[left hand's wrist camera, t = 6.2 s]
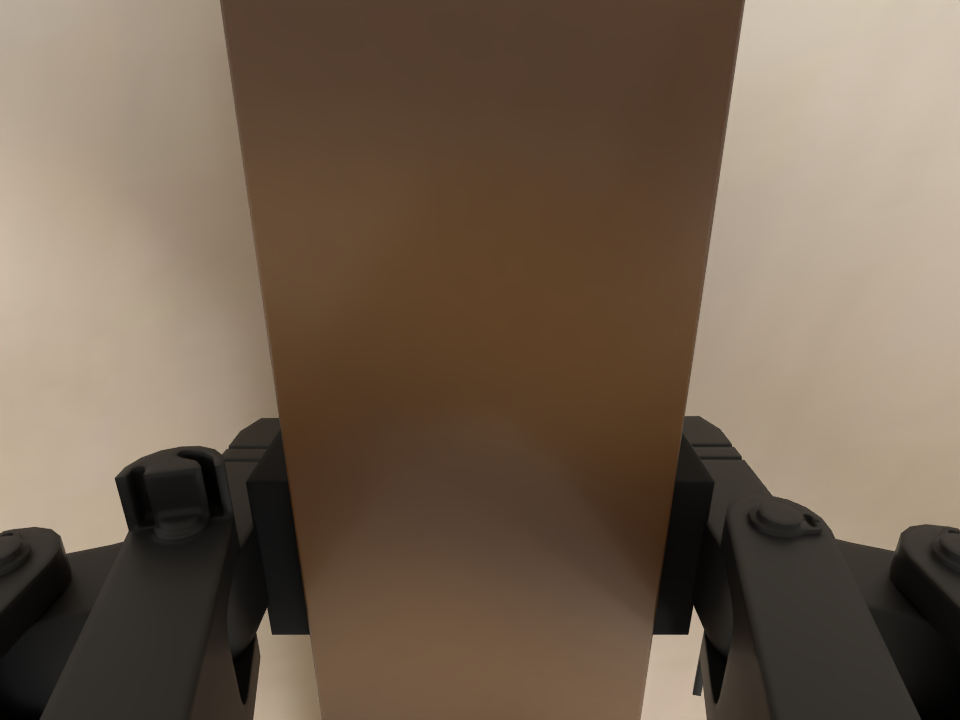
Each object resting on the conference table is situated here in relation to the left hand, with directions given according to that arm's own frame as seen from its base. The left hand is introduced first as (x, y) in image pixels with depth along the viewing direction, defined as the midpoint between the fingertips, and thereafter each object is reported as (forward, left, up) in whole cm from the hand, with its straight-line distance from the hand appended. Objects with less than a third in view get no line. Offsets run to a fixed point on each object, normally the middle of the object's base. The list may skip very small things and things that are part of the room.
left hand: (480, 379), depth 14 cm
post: (+23, +25, -1) cm, 34 cm away
